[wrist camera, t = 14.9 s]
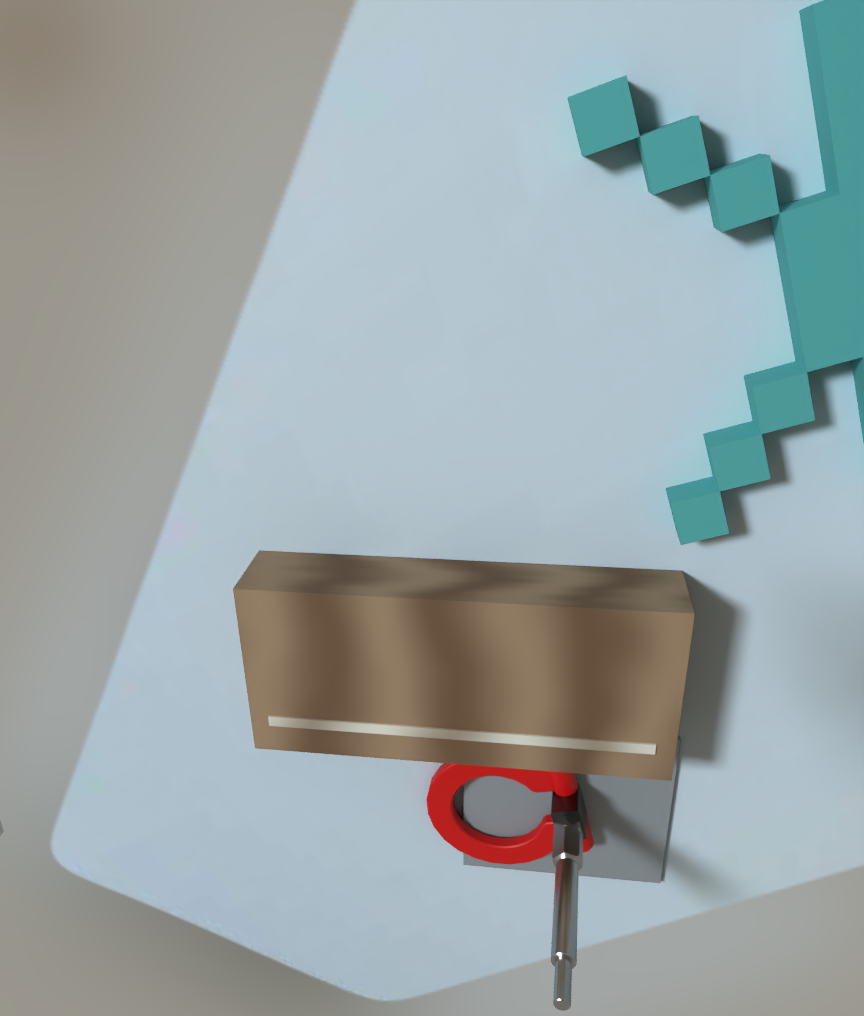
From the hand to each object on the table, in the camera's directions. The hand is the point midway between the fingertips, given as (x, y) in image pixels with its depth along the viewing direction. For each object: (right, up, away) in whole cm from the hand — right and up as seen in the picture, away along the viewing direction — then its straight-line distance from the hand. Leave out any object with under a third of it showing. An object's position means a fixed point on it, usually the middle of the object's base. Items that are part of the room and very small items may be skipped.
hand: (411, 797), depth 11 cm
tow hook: (+5, -13, +37) cm, 40 cm away
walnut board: (+2, -3, +33) cm, 33 cm away
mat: (+8, -13, +37) cm, 40 cm away
